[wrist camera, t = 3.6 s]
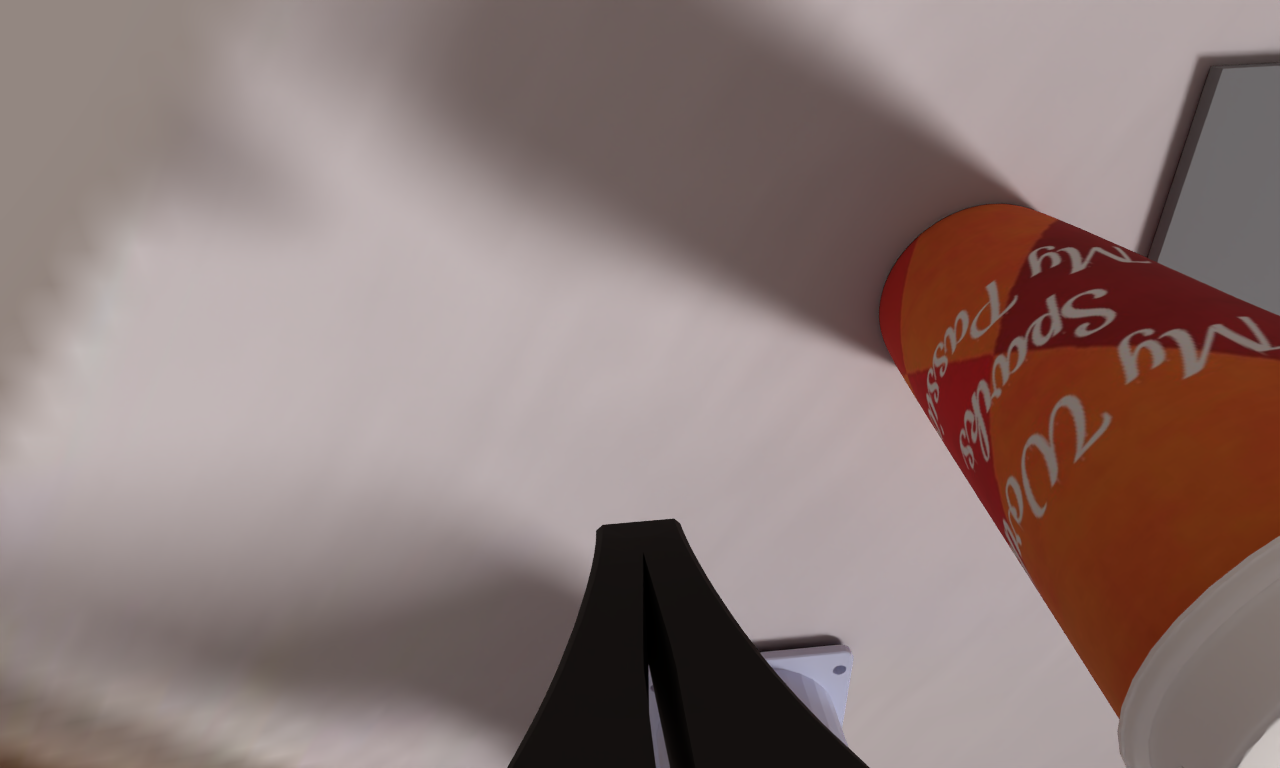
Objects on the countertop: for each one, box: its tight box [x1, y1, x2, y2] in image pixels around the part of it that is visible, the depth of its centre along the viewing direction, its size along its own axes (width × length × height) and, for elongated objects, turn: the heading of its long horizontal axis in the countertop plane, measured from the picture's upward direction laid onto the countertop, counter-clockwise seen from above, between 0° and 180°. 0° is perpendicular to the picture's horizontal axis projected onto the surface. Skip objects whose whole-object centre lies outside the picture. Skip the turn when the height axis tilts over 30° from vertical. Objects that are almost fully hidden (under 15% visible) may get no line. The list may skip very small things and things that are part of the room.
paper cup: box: [879, 204, 1280, 768], centre depth 16 cm, size 8×8×14 cm
